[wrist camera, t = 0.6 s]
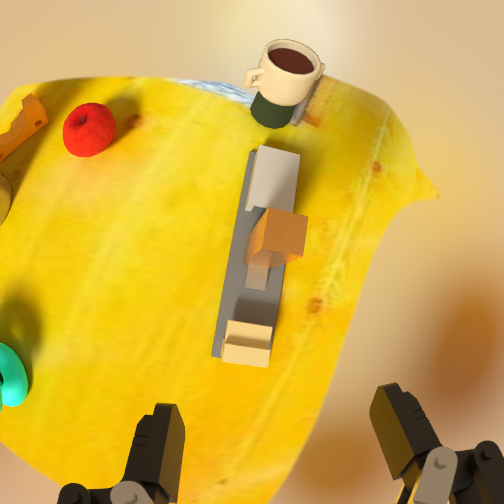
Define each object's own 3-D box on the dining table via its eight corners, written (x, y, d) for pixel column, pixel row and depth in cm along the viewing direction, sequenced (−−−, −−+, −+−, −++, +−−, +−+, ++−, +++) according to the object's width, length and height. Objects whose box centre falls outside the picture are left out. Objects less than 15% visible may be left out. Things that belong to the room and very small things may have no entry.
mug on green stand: (292, 92, 42) (318, 37, 29) (310, 126, 41) (344, 74, 28) (228, 103, 40) (239, 42, 27) (244, 140, 39) (261, 81, 26)
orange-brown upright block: (261, 159, 37) (284, 108, 26) (287, 166, 38) (318, 118, 26) (238, 286, 35) (255, 282, 23) (267, 291, 35) (297, 289, 23)
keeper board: (249, 154, 39) (255, 136, 34) (297, 166, 40) (308, 150, 35) (211, 354, 34) (212, 364, 29) (266, 362, 35) (275, 372, 30)
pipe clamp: (44, 107, 35) (29, 87, 29) (49, 122, 35) (33, 101, 28) (-5, 148, 32) (-23, 132, 26) (-2, 165, 32) (-22, 149, 26)
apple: (132, 135, 37) (121, 106, 29) (95, 177, 35) (75, 153, 28) (100, 113, 36) (86, 84, 29) (64, 150, 35) (44, 126, 27)
